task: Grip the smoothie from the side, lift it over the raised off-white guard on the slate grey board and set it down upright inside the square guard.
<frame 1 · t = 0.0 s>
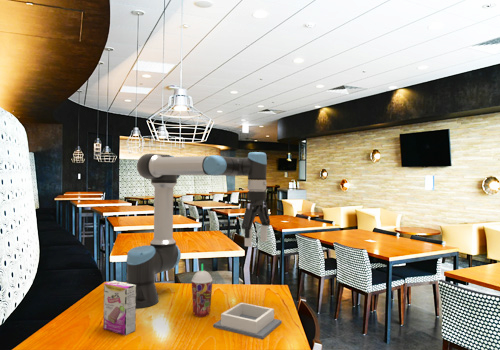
hand: (256, 243, 146), 28 cm above the table, tool pointing down, fingers open, 13 cm apart
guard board: (247, 325, 135), on the table
smoothie: (201, 314, 145), on the table
candy bar box: (119, 331, 129), on the table
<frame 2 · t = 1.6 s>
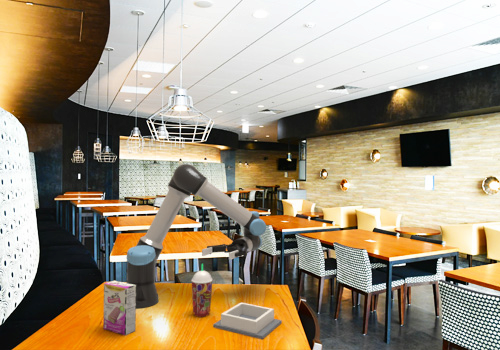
hand: (215, 254, 153), 22 cm above the table, tool horizontal, fingers open, 13 cm apart
nothing on the table moved.
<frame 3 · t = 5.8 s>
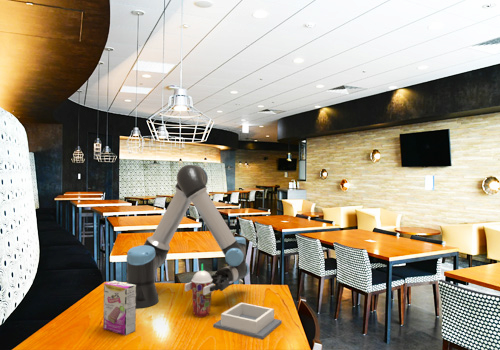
hand: (194, 289, 141), 11 cm above the table, tool horizontal, fingers closed on smoothie, 8 cm apart
smoothie: (201, 314, 145), on the table, touching gripper
everything else where it was.
when the fingers open (13 cm above the table, at t = 10.2 s): smoothie drops 1 cm, resting on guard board.
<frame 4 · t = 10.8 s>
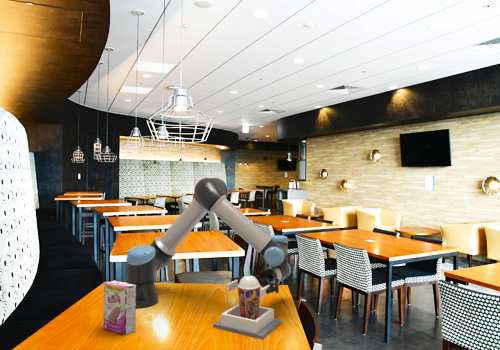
hand: (244, 290, 132), 13 cm above the table, tool horizontal, fingers open, 13 cm apart
smoothie: (249, 322, 134), point 1 cm above the table, touching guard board
everything else where it was.
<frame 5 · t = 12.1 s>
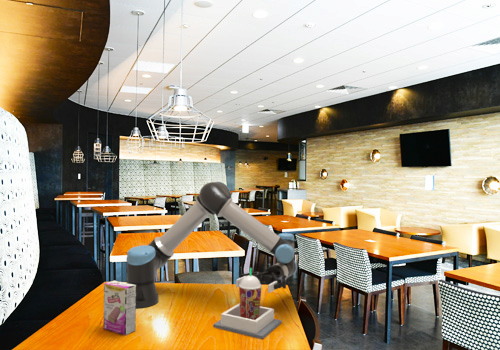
hand: (252, 286, 137), 14 cm above the table, tool horizontal, fingers open, 13 cm apart
nothing on the table moved.
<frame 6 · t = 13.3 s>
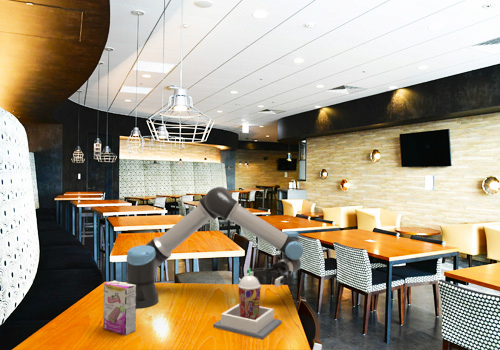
hand: (260, 280, 143), 14 cm above the table, tool horizontal, fingers open, 13 cm apart
nothing on the table moved.
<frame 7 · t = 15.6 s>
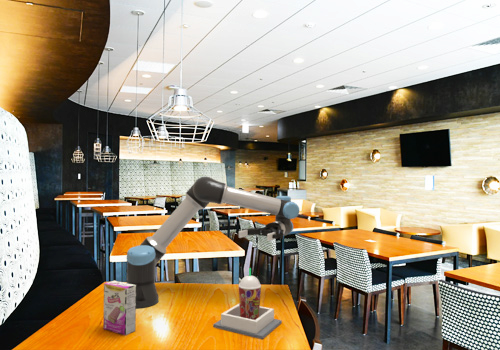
hand: (253, 236, 153), 30 cm above the table, tool horizontal, fingers open, 13 cm apart
nothing on the table moved.
at the end: smoothie inside the target area on the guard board (0.6 cm from its centre), point 0.8 cm above the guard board's base; smoothie tilted 0°; the gripper is holding nothing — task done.
